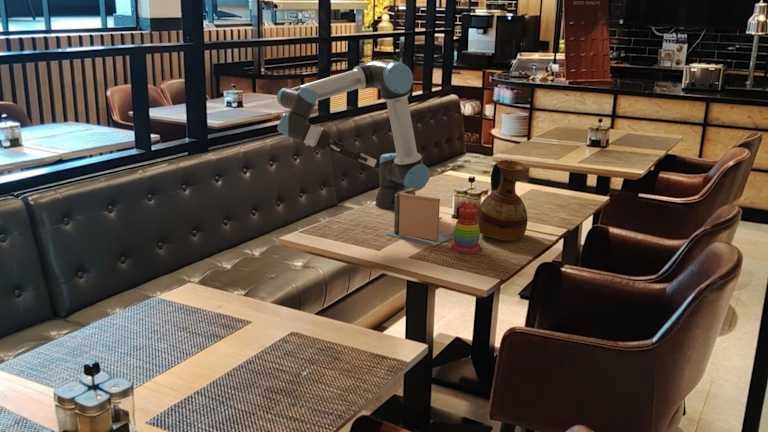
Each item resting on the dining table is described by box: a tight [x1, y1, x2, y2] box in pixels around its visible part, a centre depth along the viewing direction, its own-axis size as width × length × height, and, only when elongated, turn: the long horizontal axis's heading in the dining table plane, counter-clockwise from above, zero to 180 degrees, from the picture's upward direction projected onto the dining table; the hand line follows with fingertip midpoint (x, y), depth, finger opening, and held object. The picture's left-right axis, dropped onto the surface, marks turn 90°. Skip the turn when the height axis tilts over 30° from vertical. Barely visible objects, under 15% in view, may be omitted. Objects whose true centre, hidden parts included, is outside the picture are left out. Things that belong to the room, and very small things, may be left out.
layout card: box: [385, 230, 454, 248], centre depth 285 cm, size 15×22×1 cm
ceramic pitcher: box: [475, 159, 528, 241], centre depth 282 cm, size 20×20×30 cm
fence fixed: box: [393, 188, 417, 234], centre depth 288 cm, size 12×2×16 cm, turn 143°
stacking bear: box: [450, 202, 482, 255], centre depth 268 cm, size 11×10×18 cm
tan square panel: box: [399, 193, 441, 241], centre depth 279 cm, size 16×2×16 cm, turn 61°
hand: (375, 163), depth 281 cm, fingers closed
